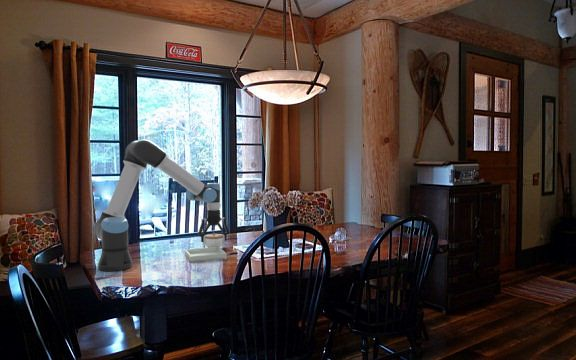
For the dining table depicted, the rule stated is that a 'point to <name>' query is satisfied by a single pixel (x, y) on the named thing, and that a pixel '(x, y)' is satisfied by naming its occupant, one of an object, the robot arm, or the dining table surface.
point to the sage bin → (205, 254)
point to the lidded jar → (213, 240)
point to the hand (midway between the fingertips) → (213, 246)
